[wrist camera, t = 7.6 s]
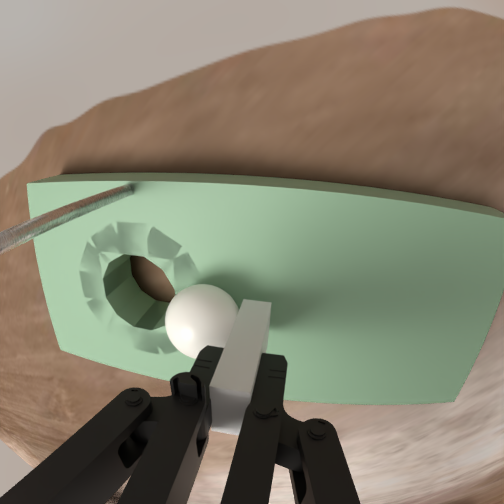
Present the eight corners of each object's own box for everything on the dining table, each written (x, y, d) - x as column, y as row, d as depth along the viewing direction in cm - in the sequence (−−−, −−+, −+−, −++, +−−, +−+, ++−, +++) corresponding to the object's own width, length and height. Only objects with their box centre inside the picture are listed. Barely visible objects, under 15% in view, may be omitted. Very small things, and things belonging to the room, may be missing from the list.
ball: (208, 386, 15) (253, 348, 18) (206, 320, 13) (258, 286, 16) (153, 352, 17) (201, 322, 20) (145, 289, 15) (199, 265, 18)
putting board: (83, 327, 26) (60, 349, 23) (59, 174, 21) (26, 183, 18) (440, 371, 22) (453, 401, 18) (492, 207, 17) (521, 222, 13)
